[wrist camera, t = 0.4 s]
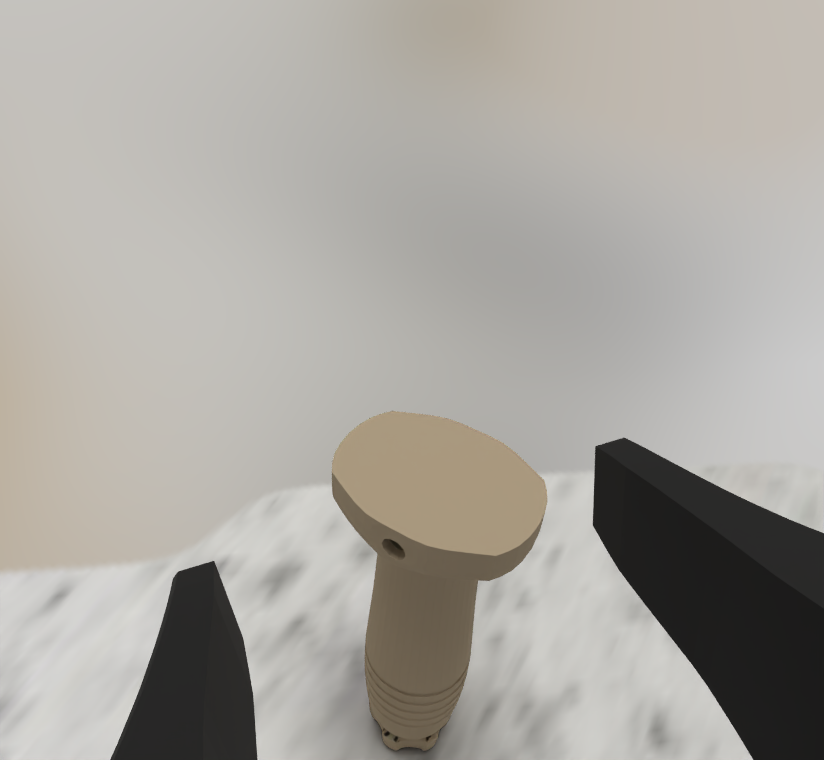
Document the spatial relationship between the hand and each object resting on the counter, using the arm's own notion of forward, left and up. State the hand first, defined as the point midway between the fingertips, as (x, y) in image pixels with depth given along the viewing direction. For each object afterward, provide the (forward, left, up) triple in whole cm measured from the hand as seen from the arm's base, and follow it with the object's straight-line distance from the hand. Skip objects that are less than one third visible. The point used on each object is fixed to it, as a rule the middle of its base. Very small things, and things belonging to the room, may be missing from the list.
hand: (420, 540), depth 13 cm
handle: (+6, -2, -20) cm, 21 cm away
